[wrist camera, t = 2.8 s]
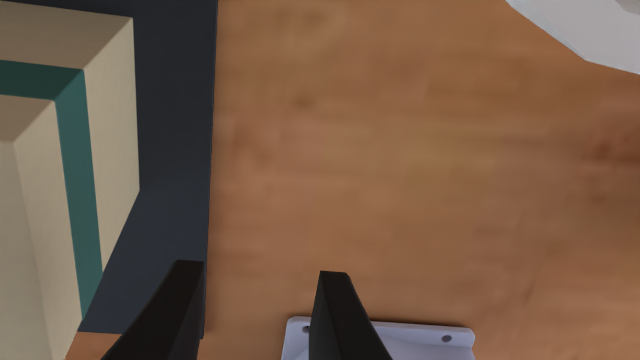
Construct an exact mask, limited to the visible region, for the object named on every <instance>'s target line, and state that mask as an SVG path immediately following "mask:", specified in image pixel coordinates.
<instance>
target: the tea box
mask: <svg viewBox="0 0 640 360" xmlns="http://www.w3.org/2000/svg"><path fill="white" fill-rule="evenodd" d="M139 190H140V189H139V163H138V138H137V113H136V87H135V62H134V37H133V19H132V18H131V17H124V16H116V15H109V14H101V13H93V12H85V11H78V10H70V9H62V8H54V7H47V6H39V5H31V4H23V3H15V2H8V1H0V360H64V359H65V357H66V354H67V352H68V350H69V348H70V345H71V343H72V341H73V339H74V336H75V334H76V332H77V330H78V327H79V325H80V323H81V321H83V319H84V317H85V315H86V313H87V310H88V308H89V306H90V304H91V301H92V299H93V297H94V294H95V292H96V290H97V288H98V285H99V283H100V281H101V279H102V276H103V271H104V269H105V267H106V265H107V262H108V260H109V258H110V256H111V253H112V251H113V249H114V247H115V244H116V242H117V240H118V238H119V235H120V233H121V231H122V229H123V226H124V224H125V222H126V220H127V217H128V215H129V213H130V211H131V208H132V206H133V204H134V202H135V199H136V197H137V195H138V193H139Z"/></svg>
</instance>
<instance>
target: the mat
mask: <svg viewBox="0 0 640 360" xmlns="http://www.w3.org/2000/svg"><path fill="white" fill-rule="evenodd" d="M0 1H8V2H15V3H23V4H31V5H39V6H47V7H54V8H62V9H70V10H78V11H85V12H93V13H101V14H109V15H116V16H124V17H131V18H132V19H133V37H134V62H135V87H136V113H137V138H138V163H139V189H140V190H139V193H138V195H137V197H136V199H135V202H134V204H133V206H132V208H131V211H130V213H129V215H128V217H127V220H126V222H125V224H124V226H123V229H122V231H121V233H120V235H119V238H118V240H117V242H116V244H115V247H114V249H113V251H112V253H111V256H110V258H109V260H108V262H107V265H106V267H105V269H104V271H103V276H102V279H101V281H100V283H99V285H98V288H97V290H96V292H95V294H94V297H93V299H92V301H91V304H90V306H89V308H88V310H87V313H86V315H85V317H84V319H83V321H81V323H80V325H79V327H78V330H77V331H79V332H95V333H111V334H123V333H124V332H125V330H126V329H127V328H128V327H129V325H130V324H131V323H132V322H133V320H134V319H135V318H136V316H137V315H138V314H139V312H140V311H141V310H142V309H143V307H144V306H145V305H146V303H147V302H148V301H149V299H150V298H151V296H152V295H153V293H154V292H155V291H156V289H157V288H158V286H159V285H160V283H161V282H162V280H163V278H164V277H165V275H166V274H167V272H168V270H169V268H170V267H171V265H172V263H173V262H175V261H176V260H178V259H179V260H191V261H204V262H205V264H204V289H203V314H202V328H201V335H200V339H203V336H204V314H205V291H206V267H207V244H208V220H209V197H210V174H211V150H212V127H213V103H214V80H215V56H216V33H217V10H218V0H0Z"/></svg>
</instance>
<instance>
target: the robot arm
mask: <svg viewBox="0 0 640 360" xmlns="http://www.w3.org/2000/svg"><path fill="white" fill-rule="evenodd" d="M204 264H205V262H204V261H191V260H179V259H178V260H176V261H175V262H173V263H172V265H171V267H170V268H169V270H168V272H167V274H166V275H165V277H164V278H163V280H162V282H161V283H160V285H159V286H158V288H157V289H156V291H155V292H154V293H153V295H152V296H151V298H150V299H149V301H148V302H147V303H146V305H145V306H144V307H143V309H142V310H141V311H140V312H139V314H138V315H137V316H136V318H135V319H134V320H133V322H132V323H131V324H130V325H129V327H128V328H127V329H126V330H125V332H124V333H123V334H122V335H121V336H120V337H119V339H118V340H117V341H116V342H115V343H114V344H113V346H112V347H111V348H110V349H109V350H108V351H107V352H106V354H105V355H104V356H103V357H102V358H101V359H100V360H197V354H198V348H199V341H200V335H201V328H202V314H203V289H204ZM305 326H310V327H305ZM445 335H447V336H445ZM474 341H475V335H474V333H473V331H472V330H471V329H470V328H463V327H449V326H434V325H419V324H405V323H390V322H376V321H370V319H369V317H368V315H367V313H366V311H365V309H364V307H363V305H362V303H361V301H360V299H359V297H358V295H357V293H356V291H355V288H354V286H353V284H352V282H351V279H350V277H349V276H348V275H347V273H343V272H331V271H320V275H319V281H318V286H317V291H316V296H315V302H314V307H313V312H312V317H303V316H294V317H292V318H290V319H289V320H288V322H287V326H286V332H285V339H284V345H283V351H282V358H281V360H475V358H474V355H473V352H472V349H471V348H472V345H473V343H474Z"/></svg>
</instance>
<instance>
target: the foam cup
mask: <svg viewBox="0 0 640 360" xmlns="http://www.w3.org/2000/svg"><path fill="white" fill-rule="evenodd" d="M505 1H506V2H507V3H508V4H509V5H510V6H511V7H512V8H514V9H515V10H516V11H518V12H519V13H520V14H522V15H523V16H525V17H526V18H527V19H529V20H530V21H532V22H533V23H534V24H536V25H537V26H538V27H540V28H541V29H543V30H544V31H545V32H547V33H548V34H550V35H551V36H552V37H554V38H555V39H557V40H558V41H559V42H561V43H562V44H563V45H565V46H566V47H568V48H569V49H570V50H572V51H573V52H575V53H576V54H577V55H579V56H580V57H581V58H583V59H584V60H586V61H589V62H593V63H597V64H601V65H604V66H608V67H612V68H616V69H620V70H624V71H628V72H632V73H636V74H640V0H505Z"/></svg>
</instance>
